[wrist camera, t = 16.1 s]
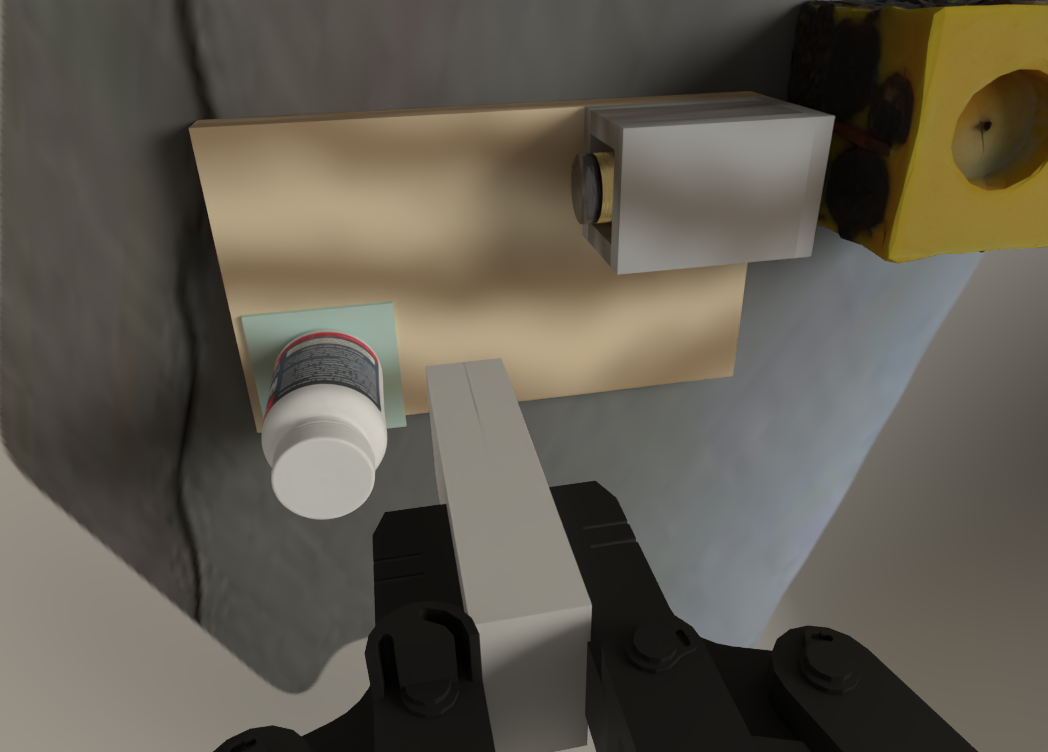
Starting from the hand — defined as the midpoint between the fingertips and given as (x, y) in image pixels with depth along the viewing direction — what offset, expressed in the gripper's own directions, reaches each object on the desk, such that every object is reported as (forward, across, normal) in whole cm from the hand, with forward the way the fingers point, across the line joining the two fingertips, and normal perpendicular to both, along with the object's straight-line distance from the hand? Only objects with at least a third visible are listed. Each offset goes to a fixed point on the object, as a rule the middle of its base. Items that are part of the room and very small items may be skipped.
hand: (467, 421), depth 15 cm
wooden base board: (+23, +4, -6) cm, 24 cm away
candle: (+24, +24, +1) cm, 34 cm away
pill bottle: (+21, -5, -10) cm, 24 cm away
